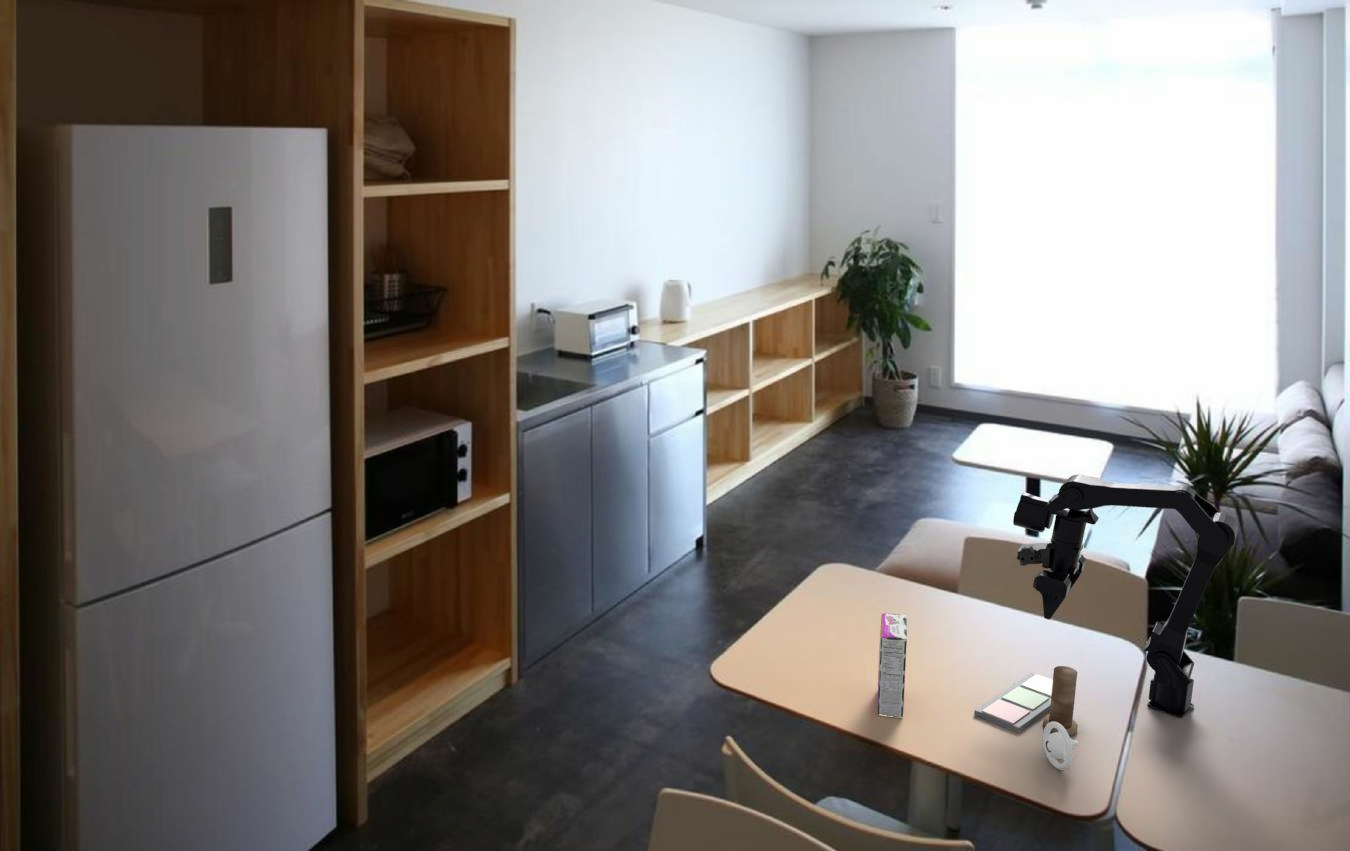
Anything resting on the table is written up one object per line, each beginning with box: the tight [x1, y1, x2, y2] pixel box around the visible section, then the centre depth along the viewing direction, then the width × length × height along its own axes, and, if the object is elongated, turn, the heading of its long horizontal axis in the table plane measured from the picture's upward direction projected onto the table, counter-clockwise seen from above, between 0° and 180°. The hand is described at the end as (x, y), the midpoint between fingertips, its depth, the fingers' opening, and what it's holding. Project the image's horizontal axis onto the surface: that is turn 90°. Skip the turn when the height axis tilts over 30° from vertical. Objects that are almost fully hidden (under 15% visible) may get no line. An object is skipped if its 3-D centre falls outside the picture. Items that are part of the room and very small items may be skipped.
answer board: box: [973, 672, 1053, 733], centre depth 201 cm, size 9×22×1 cm, turn 135°
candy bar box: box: [877, 612, 908, 718], centre depth 199 cm, size 11×5×16 cm, turn 168°
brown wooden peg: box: [1042, 665, 1079, 738], centre depth 191 cm, size 6×6×12 cm
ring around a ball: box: [1042, 721, 1079, 771], centre depth 179 cm, size 8×6×8 cm
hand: (1052, 610), depth 209 cm, fingers open, 9 cm apart
